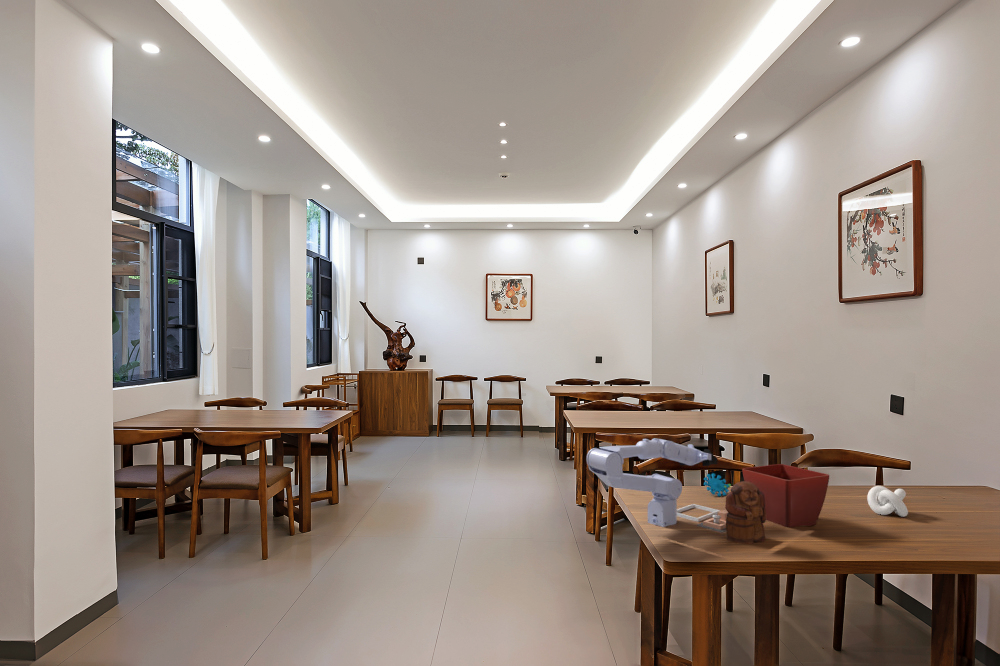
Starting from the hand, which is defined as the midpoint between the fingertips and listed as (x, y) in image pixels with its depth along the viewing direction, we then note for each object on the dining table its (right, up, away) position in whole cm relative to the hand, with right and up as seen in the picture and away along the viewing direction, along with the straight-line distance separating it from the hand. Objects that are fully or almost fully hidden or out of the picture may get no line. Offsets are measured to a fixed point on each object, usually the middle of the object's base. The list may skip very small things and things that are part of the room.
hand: (706, 461), depth 192 cm
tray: (-5, -18, -3) cm, 19 cm away
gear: (+14, -19, +26) cm, 35 cm away
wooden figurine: (+2, -18, -28) cm, 33 cm away
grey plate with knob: (-3, -18, -15) cm, 24 cm away
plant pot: (+23, -19, -8) cm, 31 cm away
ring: (-1, -17, -14) cm, 22 cm away
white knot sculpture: (+64, -19, 0) cm, 67 cm away
